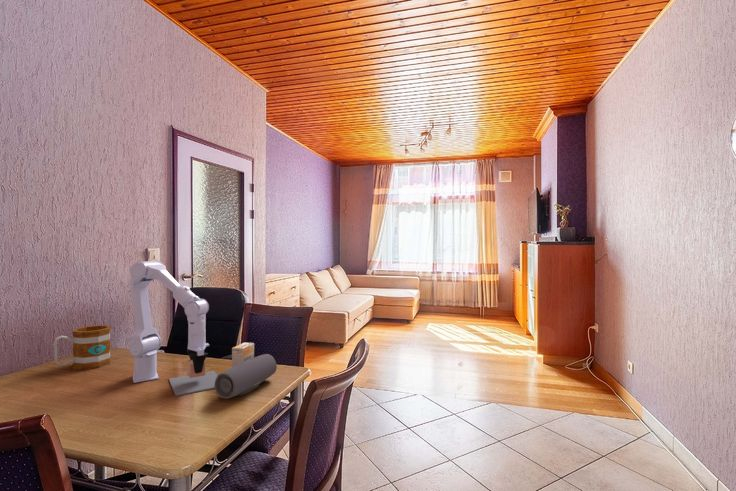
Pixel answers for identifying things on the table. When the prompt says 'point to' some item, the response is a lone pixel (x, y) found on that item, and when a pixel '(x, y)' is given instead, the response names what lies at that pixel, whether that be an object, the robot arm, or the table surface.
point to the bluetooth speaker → (245, 376)
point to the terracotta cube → (192, 373)
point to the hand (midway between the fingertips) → (196, 370)
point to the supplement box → (242, 353)
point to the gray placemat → (193, 383)
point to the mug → (88, 347)
